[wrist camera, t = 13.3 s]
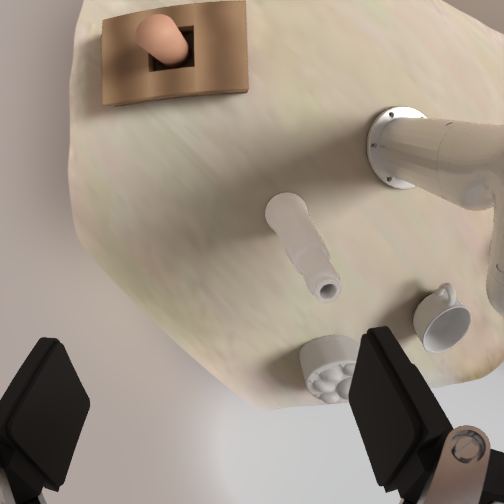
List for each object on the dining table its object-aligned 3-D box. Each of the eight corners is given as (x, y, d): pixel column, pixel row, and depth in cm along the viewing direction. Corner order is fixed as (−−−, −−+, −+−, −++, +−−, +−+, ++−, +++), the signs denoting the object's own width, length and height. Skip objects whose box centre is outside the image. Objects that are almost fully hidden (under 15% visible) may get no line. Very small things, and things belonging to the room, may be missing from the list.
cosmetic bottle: (314, 217, 45) (373, 296, 25) (279, 240, 46) (313, 333, 26) (292, 183, 43) (343, 242, 23) (256, 207, 44) (276, 285, 24)
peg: (191, 39, 34) (175, 11, 23) (191, 67, 35) (175, 46, 24) (161, 43, 33) (135, 18, 22) (161, 70, 35) (135, 53, 24)
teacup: (442, 326, 56) (461, 349, 49) (400, 334, 56) (417, 360, 48) (459, 266, 51) (483, 286, 43) (415, 271, 50) (438, 294, 43)
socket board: (244, 13, 33) (245, 0, 29) (246, 92, 38) (248, 88, 33) (115, 29, 32) (102, 20, 28) (116, 106, 37) (102, 105, 33)
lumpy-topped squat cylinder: (341, 380, 60) (353, 411, 52) (287, 367, 57) (294, 401, 49) (370, 344, 56) (387, 374, 48) (315, 326, 53) (327, 359, 45)
